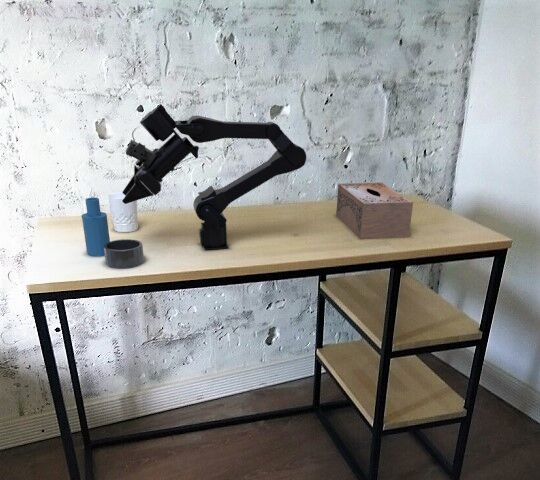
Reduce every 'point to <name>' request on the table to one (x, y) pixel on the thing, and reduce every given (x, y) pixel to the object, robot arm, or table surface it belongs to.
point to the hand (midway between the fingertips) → (123, 198)
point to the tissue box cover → (374, 210)
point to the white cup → (123, 213)
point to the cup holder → (123, 253)
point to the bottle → (95, 228)
